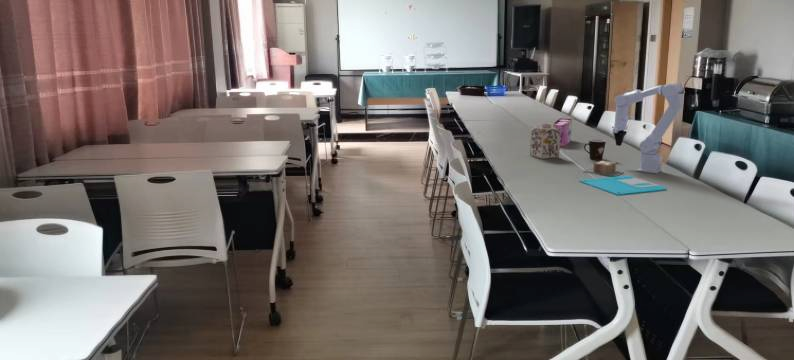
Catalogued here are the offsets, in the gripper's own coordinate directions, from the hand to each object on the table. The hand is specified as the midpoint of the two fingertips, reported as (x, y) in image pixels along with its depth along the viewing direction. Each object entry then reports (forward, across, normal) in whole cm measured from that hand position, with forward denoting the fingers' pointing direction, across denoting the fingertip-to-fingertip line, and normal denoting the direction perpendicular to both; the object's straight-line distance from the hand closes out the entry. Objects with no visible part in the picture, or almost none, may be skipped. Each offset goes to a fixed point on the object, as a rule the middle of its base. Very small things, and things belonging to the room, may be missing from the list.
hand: (618, 145), depth 312 cm
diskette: (+11, +39, +18) cm, 44 cm away
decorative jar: (+11, +3, -39) cm, 41 cm away
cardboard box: (+8, +13, +1) cm, 16 cm away
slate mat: (+10, +20, +1) cm, 23 cm away
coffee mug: (+11, -8, -16) cm, 21 cm away
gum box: (+11, -42, -50) cm, 66 cm away
